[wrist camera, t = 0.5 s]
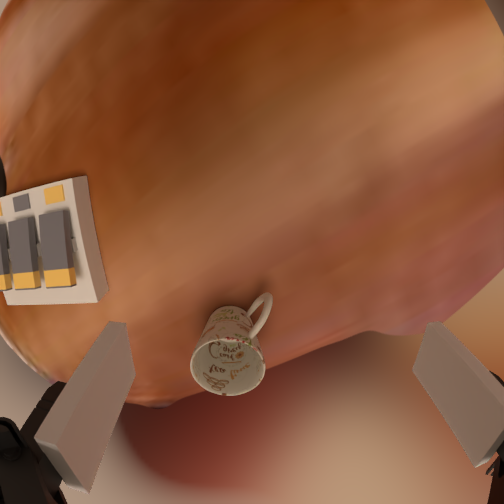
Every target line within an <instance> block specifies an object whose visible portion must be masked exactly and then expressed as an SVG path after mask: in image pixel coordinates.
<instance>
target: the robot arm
mask: <svg viewBox="0 0 504 504" xmlns="http://www.w3.org/2000/svg"><path fill="white" fill-rule="evenodd" d="M412 371H413V373H414V374H415V375H416V377H417V378H418V380H419V381H420V382H421V384H422V386H423V387H424V389H425V390H426V392H427V393H428V395H429V396H430V398H431V399H432V401H433V402H434V403H435V405H436V407H437V408H438V410H439V411H440V413H441V414H442V416H443V417H444V419H445V420H446V422H447V423H448V425H449V427H450V428H451V430H452V431H453V433H454V435H455V436H456V438H457V439H458V441H459V443H460V444H461V446H462V447H463V449H464V451H465V452H466V454H467V455H468V457H469V459H470V461H471V462H472V464H473V466H474V467H477V466H480V465H482V464H484V463H486V462H488V461H489V460H490V458H491V457H492V456H493V455H494V453H495V452H497V453H498V454H499V456H498V457H497V459H496V460H495V461H494V462H493V464H492V465H491V466H490V467H489V468H488V470H487V471H486V474H487V475H488V473H489V472H490V471H491V470H492V468H494V471H493V472H492V474H491V476H493V478H492V484H491V489H490V494H489V499H488V503H487V504H504V382H503V381H502V379H501V378H500V377H499V376H497V375H496V374H494V373H493V372H491V371H488V370H487V368H486V367H485V366H484V365H483V364H482V363H481V362H480V361H479V360H478V359H477V358H476V357H475V356H474V355H473V354H472V353H471V352H470V351H469V350H468V349H467V348H466V347H465V346H464V345H463V343H462V342H461V341H459V340H458V338H457V337H456V336H455V335H454V334H453V333H452V332H450V330H448V328H446V327H445V326H444V325H443V324H442V323H441V322H440V321H439V322H429V323H428V324H427V327H426V330H425V334H424V337H423V340H422V343H421V346H420V349H419V352H418V355H417V358H416V361H415V364H414V366H413V369H412ZM135 375H136V373H135V369H134V364H133V359H132V354H131V349H130V344H129V338H128V333H127V327H126V323H121V322H111V321H109V323H108V324H107V325H106V327H105V328H104V330H103V331H102V332H101V334H100V335H99V337H98V338H97V339H96V341H95V342H94V344H93V345H92V347H91V348H90V350H89V351H88V353H87V354H86V355H85V357H84V358H83V360H82V361H81V363H80V364H79V366H78V367H77V369H76V370H75V372H74V373H73V375H72V376H71V378H70V379H69V381H68V383H64V382H60V381H58V382H56V383H55V384H53V385H52V386H51V387H49V388H48V389H47V390H46V392H45V393H44V395H43V396H42V398H41V400H40V401H39V402H38V404H37V405H36V408H34V410H33V411H32V413H31V414H30V416H29V417H28V419H27V420H26V422H25V424H24V425H23V427H22V428H21V430H20V431H19V429H18V427H17V426H16V424H15V423H14V422H13V421H12V420H11V419H8V418H5V417H0V504H67V502H66V499H65V497H64V495H63V492H62V491H61V489H60V488H59V486H60V484H61V481H62V480H63V481H64V482H65V484H66V485H67V486H68V487H69V488H71V489H74V490H77V491H80V492H83V493H86V494H89V493H90V490H91V488H92V485H93V482H94V479H95V476H96V473H97V470H98V468H99V465H100V462H101V460H102V457H103V455H104V452H105V449H106V446H107V444H108V441H109V439H110V436H111V434H112V431H113V429H114V426H115V424H116V421H117V419H118V416H119V414H120V411H121V409H122V406H123V404H124V401H125V399H126V397H127V394H128V392H129V389H130V387H131V385H132V382H133V380H134V378H135Z"/></svg>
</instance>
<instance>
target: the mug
mask: <svg viewBox="0 0 504 504" xmlns="http://www.w3.org/2000/svg"><path fill="white" fill-rule="evenodd" d="M262 302H264V307H263V310H262V313H261V315H260V317H259V319H258V321H257V322H256V323H255V325H254V326H253V323H252V320H251V318H250V315H251V314H252V313H253V312H254V311H255V310H256V309H257V307H258V306H259V305H260V304H261V303H262ZM272 303H273V298H272V295H271V293H268V292H267V293H264V294H262V295H261V296H260V297H258V298H257V299H256V300H255V301H254V302H253V304H252V305H251V307H250V308H249V310H248V312H246V311H244V310H243V309H241V308H239V307H236V306H224V307H221V308H219V309H217V310H215V311H214V312H213V313H212V315H211V316H210V318H209V320H208V322H207V324H206V326H205V328H204V330H203V333H202V335H201V337H200V339H199V341H198V343H197V345H196V347H195V350H194V352H193V354H192V357H191V362H190V368H191V373H192V375H193V377H194V379H195V380H196V381H197V383H198V384H199V385H200V386H202V387H203V388H205V389H206V390H208V391H210V392H213V393H216V394H219V395H228V396H229V395H230V396H232V395H239V394H243V393H246V392H248V391H250V390H252V389H253V388H255V387H256V386H257V385H258V384H259V383H260V382H261V380H262V379H263V376H264V373H265V360H264V356H263V353H262V350H261V347H260V344H259V341H258V338H257V335H256V334H257V333H258V332H259V330H260V329H261V328H262V326H263V325H264V323H265V322H266V320H267V318H268V316H269V313H270V310H271V307H272Z"/></svg>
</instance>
